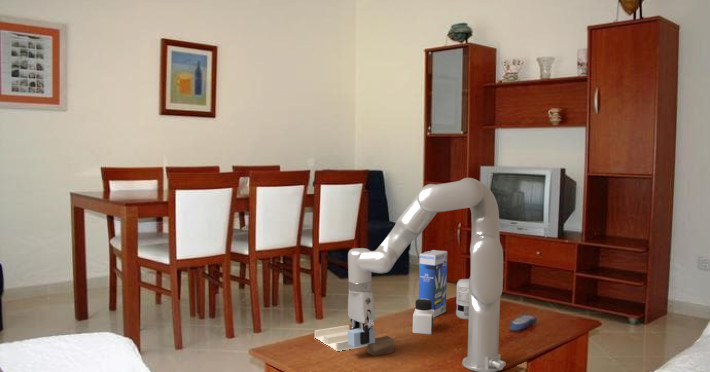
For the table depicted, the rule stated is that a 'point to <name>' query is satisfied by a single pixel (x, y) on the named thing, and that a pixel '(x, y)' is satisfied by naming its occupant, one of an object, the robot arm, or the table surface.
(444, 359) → the table surface
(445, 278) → the string lights box
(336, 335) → the slot board
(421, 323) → the medicine bottle
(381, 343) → the walnut bar
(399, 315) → the table surface
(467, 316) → the supplement can
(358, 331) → the slate bar
